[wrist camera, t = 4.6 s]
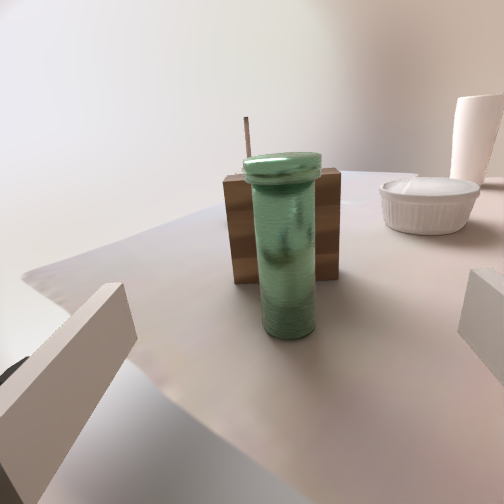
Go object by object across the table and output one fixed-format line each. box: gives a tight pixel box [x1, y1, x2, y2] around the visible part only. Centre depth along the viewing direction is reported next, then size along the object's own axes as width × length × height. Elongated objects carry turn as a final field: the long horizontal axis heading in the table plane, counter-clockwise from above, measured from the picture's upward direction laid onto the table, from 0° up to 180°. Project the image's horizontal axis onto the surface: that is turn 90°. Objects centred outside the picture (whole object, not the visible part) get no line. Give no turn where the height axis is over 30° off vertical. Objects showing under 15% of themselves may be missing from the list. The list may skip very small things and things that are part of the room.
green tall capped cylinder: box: [243, 152, 321, 339], centre depth 27 cm, size 15×5×12 cm, turn 177°
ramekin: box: [379, 177, 481, 235], centre depth 42 cm, size 11×11×5 cm
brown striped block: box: [223, 168, 341, 284], centre depth 30 cm, size 3×10×10 cm, turn 87°
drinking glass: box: [450, 93, 504, 186], centre depth 56 cm, size 7×7×15 cm
